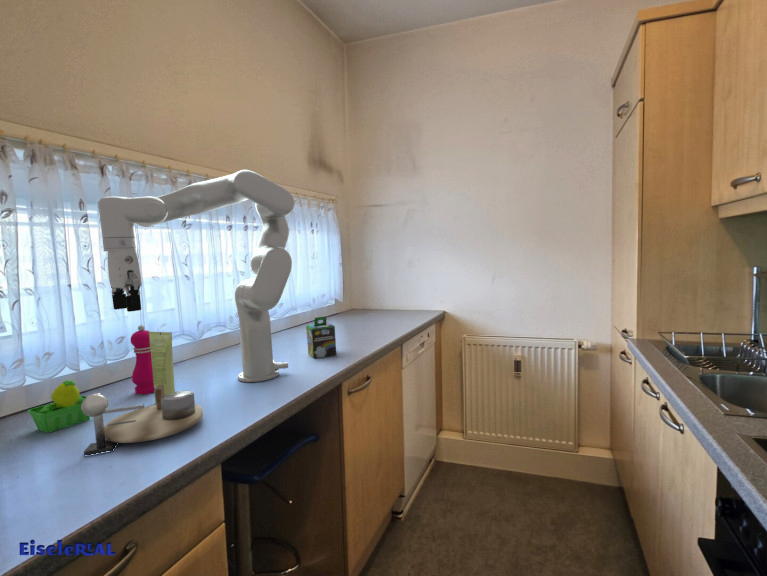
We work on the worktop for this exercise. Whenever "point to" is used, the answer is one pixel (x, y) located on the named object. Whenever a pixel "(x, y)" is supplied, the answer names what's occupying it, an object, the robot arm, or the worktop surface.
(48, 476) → the worktop surface
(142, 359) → the pepper mill
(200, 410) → the turntable
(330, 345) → the chalk box
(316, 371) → the worktop surface
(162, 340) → the tube
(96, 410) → the knob-topped metal post
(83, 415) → the fruit basket
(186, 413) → the cover
